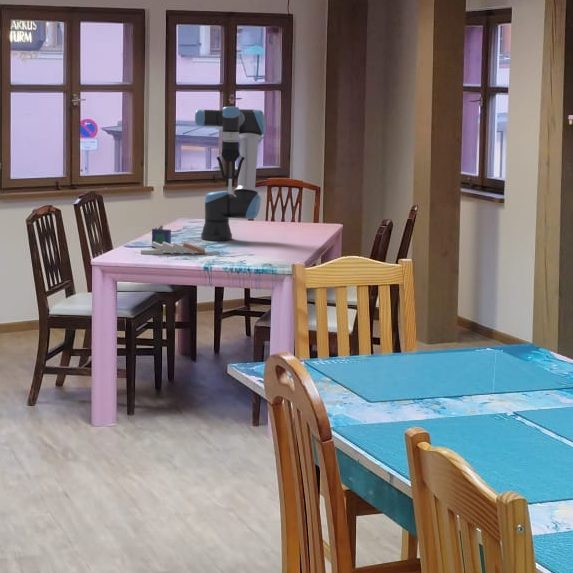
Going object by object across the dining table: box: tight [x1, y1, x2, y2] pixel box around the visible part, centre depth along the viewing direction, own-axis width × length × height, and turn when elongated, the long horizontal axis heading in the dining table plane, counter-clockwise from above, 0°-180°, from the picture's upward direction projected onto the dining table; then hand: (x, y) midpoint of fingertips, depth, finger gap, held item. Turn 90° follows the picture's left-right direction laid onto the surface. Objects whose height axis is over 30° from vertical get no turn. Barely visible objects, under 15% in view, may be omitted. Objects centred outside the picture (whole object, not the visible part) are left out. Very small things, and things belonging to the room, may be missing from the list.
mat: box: [152, 251, 221, 256], centre depth 532 cm, size 30×10×1 cm, turn 96°
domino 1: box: [140, 248, 165, 255], centre depth 530 cm, size 2×5×10 cm
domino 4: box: [172, 241, 196, 254], centre depth 531 cm, size 2×5×10 cm
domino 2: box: [151, 241, 175, 254], centre depth 530 cm, size 2×5×10 cm
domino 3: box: [162, 241, 185, 254], centre depth 531 cm, size 2×5×10 cm
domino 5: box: [182, 241, 206, 254], centre depth 532 cm, size 2×5×10 cm
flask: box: [151, 225, 172, 249], centre depth 546 cm, size 9×3×11 cm, turn 74°
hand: (229, 193), depth 542 cm, fingers closed
